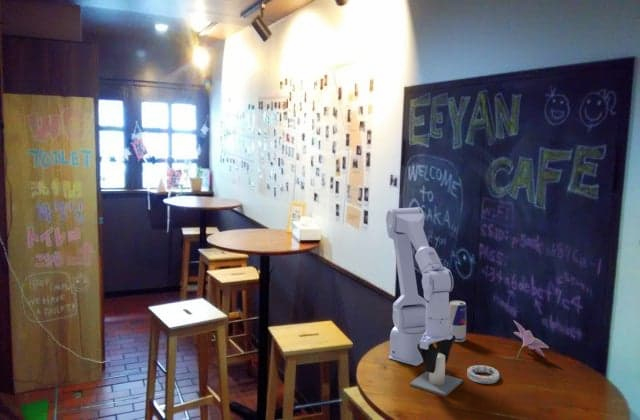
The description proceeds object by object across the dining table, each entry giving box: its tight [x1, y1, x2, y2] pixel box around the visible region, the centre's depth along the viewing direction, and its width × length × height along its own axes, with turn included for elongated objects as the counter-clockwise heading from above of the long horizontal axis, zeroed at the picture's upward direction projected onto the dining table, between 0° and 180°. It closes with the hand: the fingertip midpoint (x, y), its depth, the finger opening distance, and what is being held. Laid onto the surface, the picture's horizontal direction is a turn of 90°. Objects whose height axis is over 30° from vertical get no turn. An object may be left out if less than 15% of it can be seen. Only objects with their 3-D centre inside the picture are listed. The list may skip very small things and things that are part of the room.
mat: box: [409, 371, 464, 397], centre depth 136 cm, size 10×10×1 cm
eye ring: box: [466, 364, 500, 385], centre depth 139 cm, size 8×8×2 cm
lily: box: [512, 320, 550, 358], centre depth 152 cm, size 12×12×10 cm
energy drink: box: [448, 299, 467, 343], centre depth 166 cm, size 5×5×12 cm
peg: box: [429, 353, 446, 385], centre depth 135 cm, size 4×4×7 cm
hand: (436, 367), depth 136 cm, fingers open, 7 cm apart
